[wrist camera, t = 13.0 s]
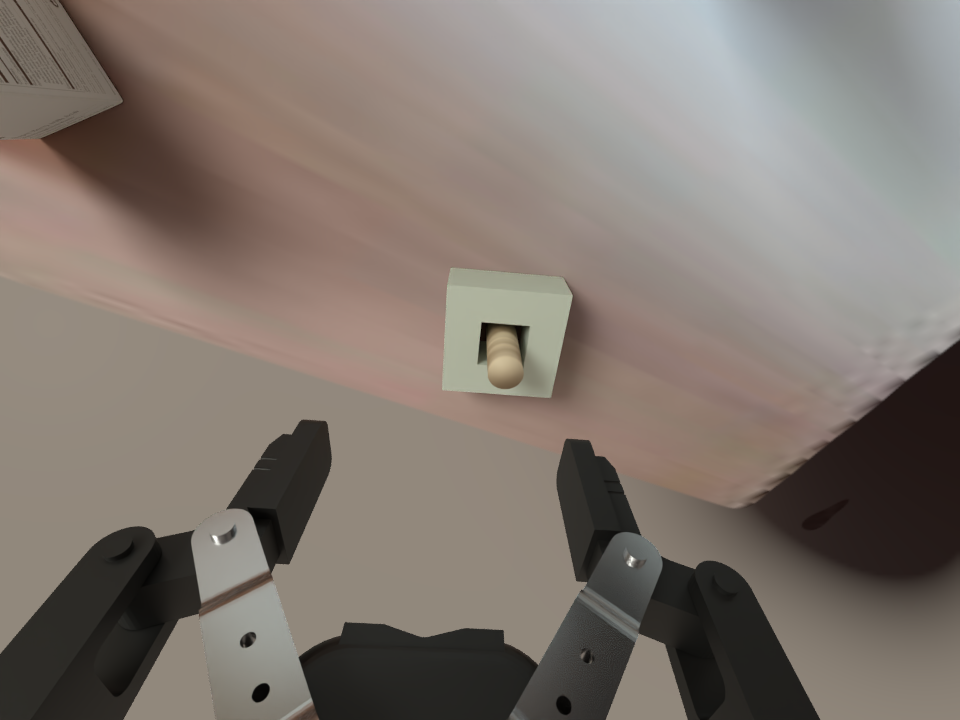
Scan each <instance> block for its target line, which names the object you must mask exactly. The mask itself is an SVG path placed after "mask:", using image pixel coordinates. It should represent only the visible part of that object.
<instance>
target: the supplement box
mask: <svg viewBox="0 0 960 720" xmlns="http://www.w3.org/2000/svg"><path fill="white" fill-rule="evenodd" d="M122 102H123V100H122V98H121V96H120V95H119V93H118V92H117V90H116V89H115V87H114V85H113V84H112V82H111V81H110V79H109V78H108V76H107V75H106V73H105V71H104V70H103V68H102V67H101V65H100V64H99V62H98V61H97V59H96V58H95V56H94V54H93V53H92V51H91V50H90V48H89V47H88V45H87V43H86V42H85V40H84V39H83V37H82V36H81V34H80V33H79V31H78V30H77V28H76V26H75V25H74V23H73V22H72V20H71V19H70V17H69V16H68V14H67V13H66V11H65V10H64V8H63V6H62V5H61V3H60V2H59V0H0V140H8V139H40V138H42V137H45V136H47V135H50V134H52V133H54V132H57V131H59V130H61V129H64V128H66V127H68V126H71V125H73V124H75V123H78V122H80V121H82V120H85V119H87V118H89V117H91V116H94V115H96V114H98V113H101V112H103V111H105V110H107V109H110V108H112V107H114V106H116V105H119V104H121V103H122Z"/></svg>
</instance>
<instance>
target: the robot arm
mask: <svg viewBox="0 0 960 720" xmlns="http://www.w3.org/2000/svg"><path fill="white" fill-rule="evenodd" d="M331 457H332V456H331V447H330V440H329V433H328V425H327V422H326V421H316V420H301V421H300V422H299V424H298V426H297V427H296V429H295V430H294V432H293V434H292V435H289V434H283V435H281V436H280V437H279V438H277V439H276V440H275V441H273V442H272V443H271V444H269V446H268V447H267V449H266V450H265V452H264V453H263V455H262V456H261V460H259V461H258V462H257V464H256V465H255V467H254V470H252V471H251V473H250V474H249V476H248V477H247V479H246V480H245V482H244V483H243V485H242V486H241V488H240V490H239V491H238V492H237V494H236V495H235V497H234V498H233V500H232V501H231V503H230V504H229V506H228V507H227V509H226V510H223V511H220V512H217V513H215V514H213V515H211V516H210V517H208V518H207V519H205V520H204V521H203V522H202V523H200V524H199V526H198V527H197V528H196V529H195V530H193V531H189V532H185V533H180V534H175V535H170V536H165V537H161V538H156V537H155V535H154V533H153V532H152V531H151V530H150V529H148V528H146V527H139V526H138V527H129V528H125V529H121V530H119V531H117V532H114V533H112V534H110V535H108V536H106V537H104V538H103V539H101V540H100V541H98V542H97V543H96V544H95V545H94V546H92V548H91V549H90V550H89V551H88V552H87V553H86V554H85V555H84V556H83V558H82V559H81V560H80V561H79V562H78V564H77V565H76V566H75V567H74V568H73V569H72V571H71V572H70V573H69V574H68V575H67V576H66V578H65V579H64V580H63V581H62V582H61V583H60V585H59V586H58V587H57V588H56V589H55V590H54V592H53V593H52V594H51V595H50V597H49V598H48V599H47V600H46V601H45V602H44V603H43V605H42V606H41V607H40V608H39V609H38V610H37V612H36V613H35V614H34V615H33V616H32V617H31V619H30V620H29V621H28V622H27V623H26V625H25V626H24V627H23V628H22V629H21V631H19V633H18V634H17V635H16V636H15V637H14V638H13V640H12V641H11V642H10V643H9V645H8V646H7V647H6V648H5V649H4V650H3V651H2V653H1V654H0V720H123V719H124V717H125V716H126V714H127V712H128V710H129V708H130V706H131V705H132V703H133V701H134V699H135V697H136V696H137V694H138V692H139V690H140V688H141V686H142V685H143V683H144V681H145V679H146V678H147V676H148V674H149V672H150V670H151V669H152V667H153V665H154V663H155V661H156V659H157V658H158V656H159V654H160V652H161V650H162V649H163V647H164V645H165V643H166V641H167V639H168V638H169V636H170V634H171V632H172V631H173V629H174V627H175V625H176V623H177V621H178V620H179V619H180V618H184V617H188V616H192V615H195V614H199V619H200V625H201V632H202V638H203V644H204V651H205V657H206V663H207V669H208V676H209V682H210V688H211V694H212V700H213V707H214V713H215V719H216V720H606V717H607V715H608V712H609V709H610V707H611V704H612V701H613V699H614V697H615V694H616V691H617V689H618V686H619V684H620V681H621V678H622V676H623V673H624V670H625V668H626V665H627V663H628V660H629V658H630V655H631V653H632V650H633V647H634V645H635V642H636V639H637V637H638V634H642V635H644V636H647V637H649V638H652V639H655V640H657V641H659V642H662V643H664V644H665V645H666V649H667V652H668V656H669V659H670V662H671V665H672V669H673V672H674V675H675V679H676V682H677V685H678V689H679V692H680V695H681V698H682V702H683V705H684V708H685V712H686V715H687V718H688V720H820V718H819V717H818V715H817V713H816V711H815V709H814V707H813V705H812V703H811V702H810V700H809V698H808V696H807V694H806V692H805V690H804V688H803V686H802V684H801V682H800V681H799V679H798V677H797V675H796V673H795V671H794V669H793V667H792V665H791V663H790V662H789V660H788V658H787V656H786V654H785V652H784V650H783V648H782V646H781V644H780V643H779V641H778V639H777V637H776V635H775V633H774V631H773V629H772V627H771V625H770V624H769V622H768V620H767V618H766V616H765V614H764V612H763V610H762V608H761V607H760V605H759V603H758V601H757V599H756V597H755V595H754V593H753V591H752V589H751V588H750V586H749V585H748V583H747V582H746V581H745V579H744V578H743V577H742V576H741V575H739V573H737V572H736V571H735V570H733V569H732V568H730V567H728V566H727V565H724V564H722V563H719V562H716V561H704V562H702V563H700V564H699V565H698V566H697V567H696V569H693V568H690V567H687V566H684V565H681V564H678V563H675V562H673V561H670V560H668V559H666V558H663V557H662V556H660V554H659V552H658V550H657V549H656V548H655V546H654V545H653V544H652V543H651V542H649V541H648V540H647V539H645V538H644V537H642V536H641V534H640V531H639V529H638V527H637V524H636V521H635V519H634V516H633V513H632V511H631V509H630V506H629V503H628V501H627V498H626V496H625V495H624V490H623V488H622V485H621V484H620V480H619V478H618V475H617V473H616V470H615V468H614V467H613V466H612V465H611V464H610V463H609V461H608V460H607V459H606V458H605V457H600V456H595V454H594V451H593V448H592V445H591V443H590V441H589V440H578V439H566V441H565V443H564V447H563V451H562V455H561V459H560V463H559V467H558V471H557V491H558V496H559V500H560V506H561V510H562V515H563V520H564V524H565V529H566V534H567V538H568V543H569V548H570V553H571V558H572V562H573V567H574V572H575V576H576V581H581V582H587V584H586V586H585V588H584V589H583V590H581V591H580V593H579V594H578V596H577V598H576V599H575V601H574V603H573V605H572V606H571V608H570V610H569V612H568V613H567V615H566V617H565V619H564V621H563V622H562V624H561V626H560V628H559V629H558V631H557V633H556V635H555V637H554V638H553V640H552V642H551V644H550V645H549V647H548V649H547V651H546V652H545V654H544V656H543V658H542V660H541V661H540V663H539V665H538V664H537V663H536V662H534V661H533V660H532V659H531V658H530V657H529V656H527V655H526V654H525V653H523V652H522V651H520V650H518V649H516V648H515V647H513V646H511V645H508V644H505V643H504V631H503V630H489V629H469V628H465V629H460V630H456V631H452V632H447V633H443V634H439V635H435V636H431V637H419V636H416V635H413V634H410V633H407V632H405V631H402V630H399V629H396V628H393V627H390V626H387V625H385V624H367V623H347V622H345V624H344V627H343V631H342V634H341V636H338V637H334V638H332V639H329V640H326V641H324V642H322V643H320V644H318V645H316V646H314V647H312V648H311V649H309V650H308V651H306V652H305V653H303V654H302V655H301V656H300V657H298V655H297V652H296V649H295V645H294V642H293V639H292V636H291V633H290V630H289V627H288V624H287V621H286V618H285V615H284V612H283V608H282V605H281V603H280V599H279V596H278V593H277V590H276V587H275V584H274V581H273V578H272V575H271V573H272V571H273V569H274V566H275V564H290V561H291V559H292V557H293V554H294V552H295V550H296V548H297V545H298V543H299V541H300V538H301V536H302V534H303V532H304V529H305V527H306V524H307V522H308V520H309V518H310V516H311V513H312V511H313V509H314V507H315V504H316V502H317V500H318V497H319V495H320V493H321V490H322V488H323V486H324V484H325V481H326V479H327V477H328V474H329V472H330V467H331V460H332V458H331Z"/></svg>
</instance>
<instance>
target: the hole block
mask: <svg viewBox="0 0 960 720" xmlns="http://www.w3.org/2000/svg"><path fill="white" fill-rule="evenodd" d="M572 297H573V295H572V293H571V291H570V289H569V288H568V286H567V284H566V282H565V280H564V278H563V277H555V276H543V275H532V274H520V273H509V272H497V271H486V270H474V269H463V268H451V270H450V274H449V279H448V284H447V300H446V320H445V340H444V360H443V381H442V390H448V391H462V392H475V393H489V394H502V395H516V396H529V397H543V398H551V395H552V390H553V386H554V381H555V376H556V372H557V367H558V362H559V358H560V353H561V348H562V344H563V339H564V335H565V330H566V325H567V321H568V316H569V311H570V307H571V302H572ZM481 322H485V323H498V324H510V325H522V330H521V336H520V343H519V349H520V354H521V360H522V365H523V371H524V376H523V379H522V381H521V382H520V383H519V384H518V385H517V386H516V387H514V388H511V389H500V388H497V387H495V386H493V385H492V384H491V383H490V381H489V379H488V370H487V343H486V341H480V331H481Z"/></svg>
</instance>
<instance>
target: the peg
mask: <svg viewBox="0 0 960 720" xmlns="http://www.w3.org/2000/svg"><path fill="white" fill-rule="evenodd" d="M486 343H487V370H488V379H489V381H490V383H491V384H492V385H493V386H495V387H497V388H500V389H511V388H514V387H516V386H517V385H518V384H519V383H520V382H521V381H522V379H523V376H524V371H523V365H522V360H521V354H520V349H519V344H518V338H517V333H516V327H515V325H510V324H498V323H486Z"/></svg>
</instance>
